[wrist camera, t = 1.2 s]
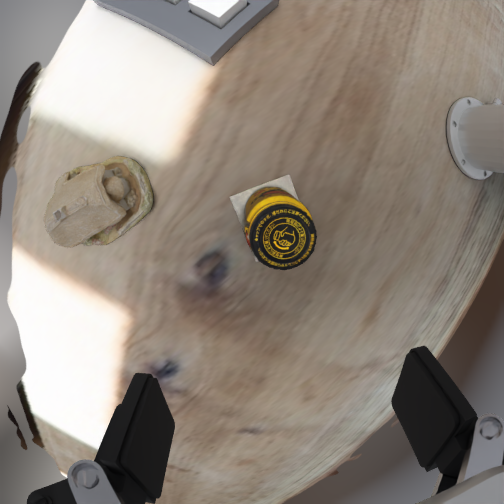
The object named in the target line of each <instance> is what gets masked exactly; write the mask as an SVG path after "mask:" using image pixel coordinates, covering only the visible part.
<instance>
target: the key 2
mask: <svg viewBox="0 0 504 504" xmlns="http://www.w3.org/2000/svg"><path fill="white" fill-rule="evenodd" d="M164 1H166V2H169V3H171V4H173V5H177V4H178V3H179V2H180V1H181V0H164Z"/></svg>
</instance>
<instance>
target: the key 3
mask: <svg viewBox="0 0 504 504" xmlns="http://www.w3.org/2000/svg"><path fill="white" fill-rule="evenodd" d="M188 4H189V6H190V9H191V11H192V14H194V15H195V16H197V17H199V18H201V19H203V20H205V21H207V22H209V23H210V24H212V25H214V26H216V27H217V28H219V29H222V28H223V27H224V26H226V25H227V24H228V23H229V22H230V21H231V20H232V19H233V18H234V17H236V16H237V15H238V14H239V13H240V12H241V11H243V10H244V9H245V8H246V7H247V0H189V1H188Z"/></svg>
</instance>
